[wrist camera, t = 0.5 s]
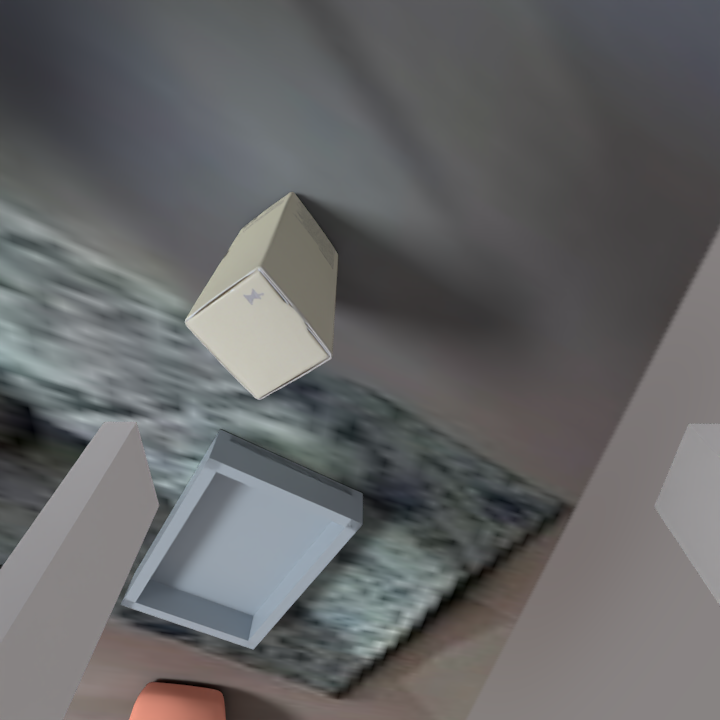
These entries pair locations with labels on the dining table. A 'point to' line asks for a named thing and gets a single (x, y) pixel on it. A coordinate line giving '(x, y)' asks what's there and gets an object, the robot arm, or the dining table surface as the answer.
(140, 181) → the dining table surface
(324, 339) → the box
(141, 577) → the bin
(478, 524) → the dining table surface
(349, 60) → the dining table surface
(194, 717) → the teapot
